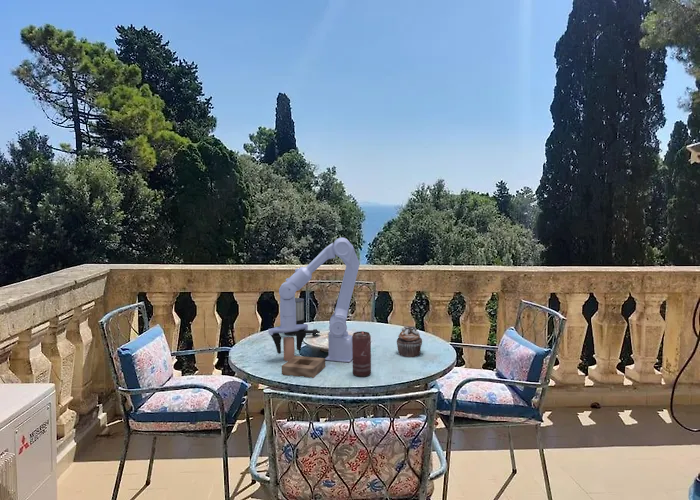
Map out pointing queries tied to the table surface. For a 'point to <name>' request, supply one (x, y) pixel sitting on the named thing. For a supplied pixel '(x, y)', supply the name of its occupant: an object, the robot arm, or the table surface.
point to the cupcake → (409, 342)
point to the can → (361, 354)
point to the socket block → (303, 366)
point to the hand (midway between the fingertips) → (288, 351)
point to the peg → (288, 348)
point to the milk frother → (301, 317)
